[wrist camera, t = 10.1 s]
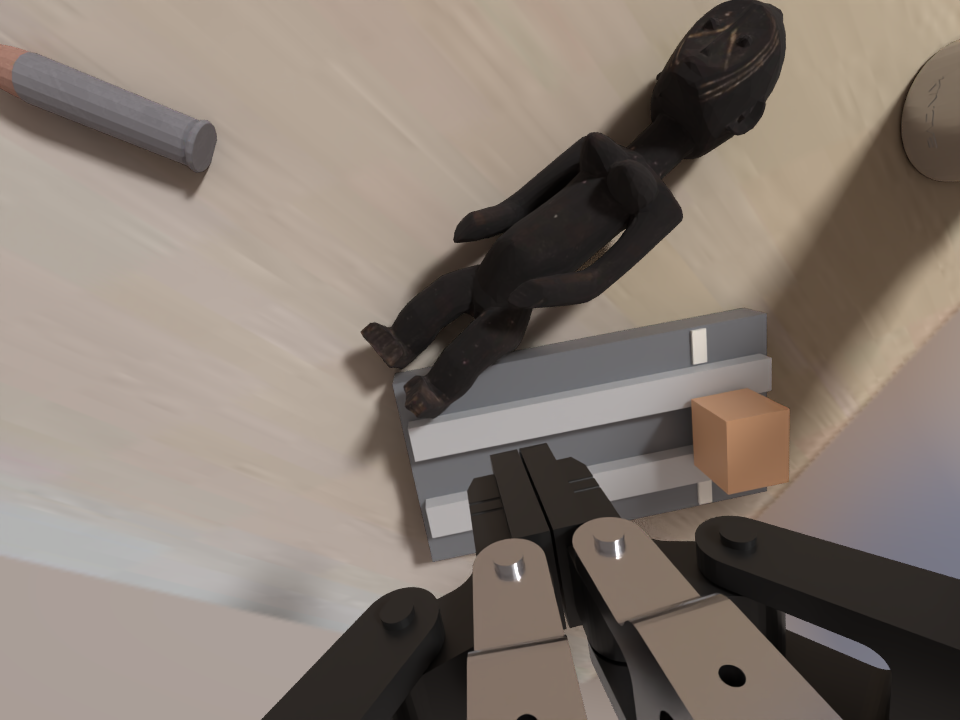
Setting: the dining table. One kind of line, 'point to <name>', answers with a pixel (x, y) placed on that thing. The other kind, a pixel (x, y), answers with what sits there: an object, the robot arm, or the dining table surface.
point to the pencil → (106, 108)
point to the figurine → (588, 207)
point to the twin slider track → (588, 417)
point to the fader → (741, 440)
